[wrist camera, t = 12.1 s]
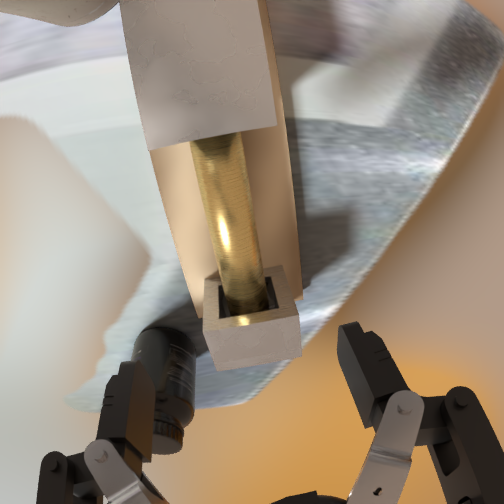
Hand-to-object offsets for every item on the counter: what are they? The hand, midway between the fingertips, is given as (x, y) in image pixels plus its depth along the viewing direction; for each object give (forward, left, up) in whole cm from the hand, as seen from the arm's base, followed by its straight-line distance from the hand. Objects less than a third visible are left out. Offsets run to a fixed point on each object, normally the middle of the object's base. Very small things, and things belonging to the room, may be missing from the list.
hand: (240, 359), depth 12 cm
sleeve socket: (0, +3, -15) cm, 15 cm away
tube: (0, 0, -13) cm, 13 cm away
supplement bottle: (-10, -14, -16) cm, 24 cm away
